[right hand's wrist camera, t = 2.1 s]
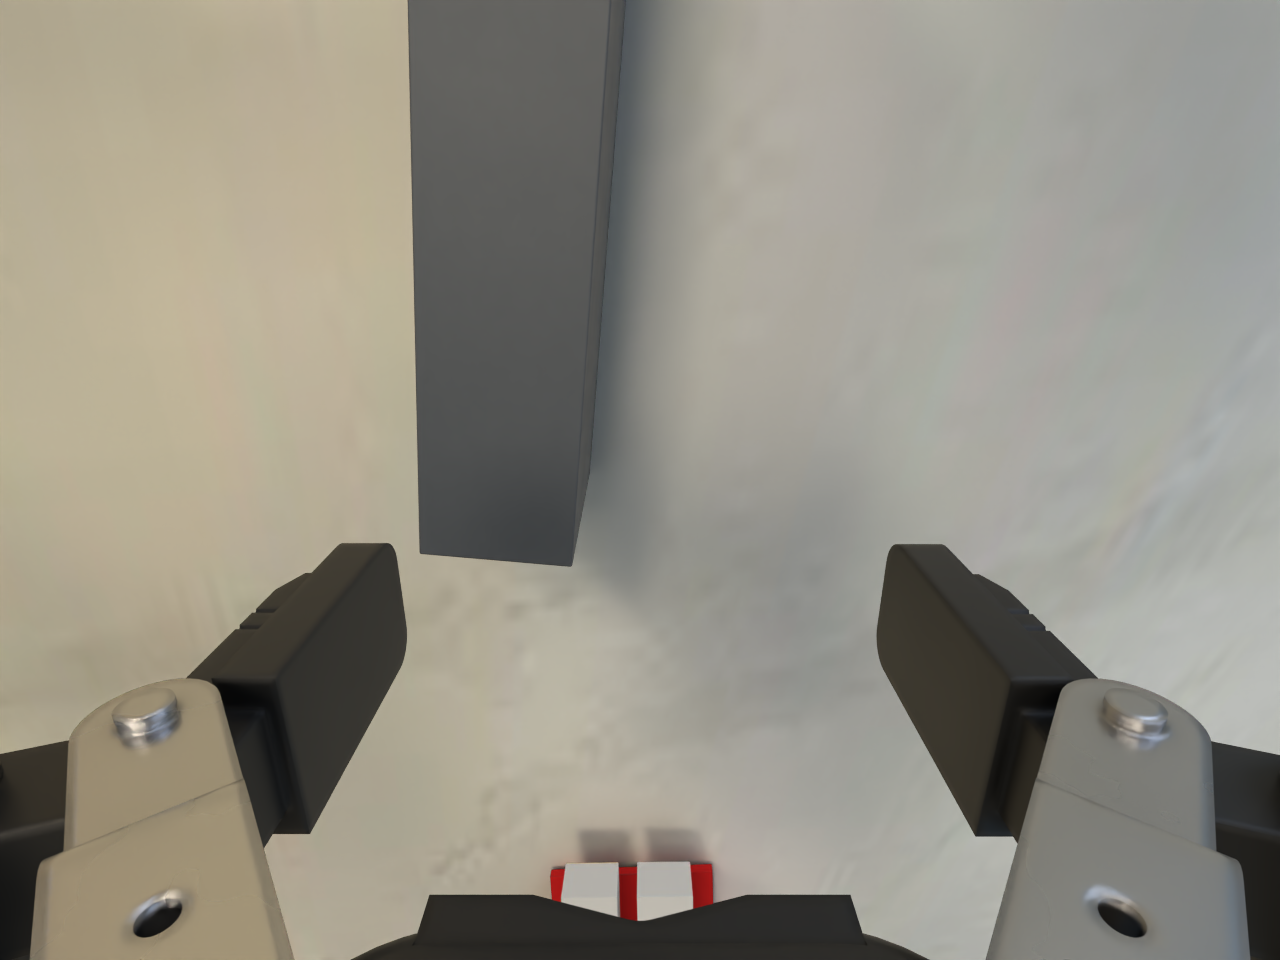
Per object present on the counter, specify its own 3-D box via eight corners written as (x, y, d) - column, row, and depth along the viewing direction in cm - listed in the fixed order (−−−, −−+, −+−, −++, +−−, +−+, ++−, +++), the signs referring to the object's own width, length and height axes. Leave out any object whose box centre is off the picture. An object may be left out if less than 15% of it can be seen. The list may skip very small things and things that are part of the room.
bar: (589, 473, 30) (571, 567, 22) (478, 463, 30) (419, 554, 22) (651, -336, 21) (659, -692, 13) (488, -358, 20) (390, -734, 12)
